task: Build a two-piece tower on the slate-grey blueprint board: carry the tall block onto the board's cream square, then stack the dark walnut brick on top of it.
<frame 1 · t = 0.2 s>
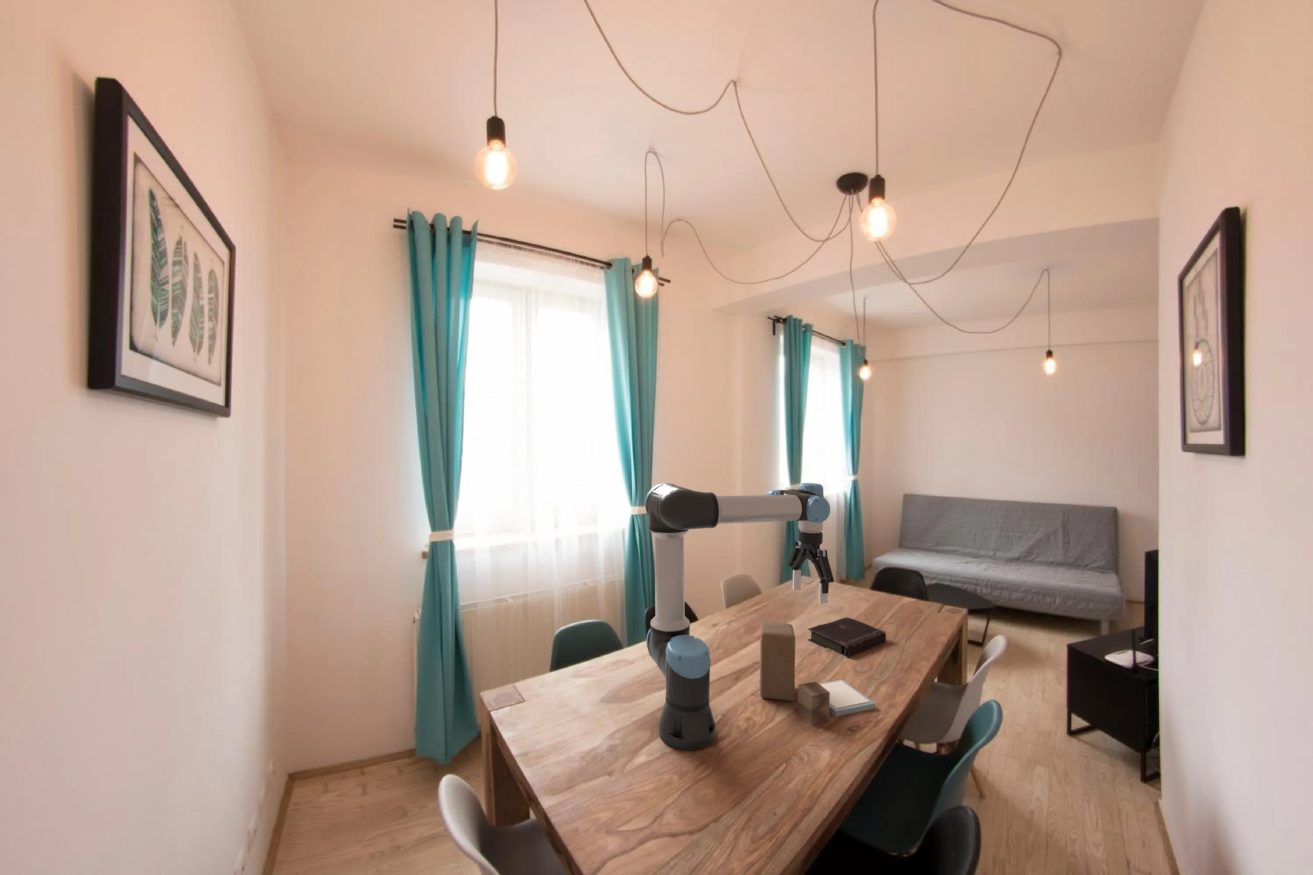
hand: (809, 595, 151), 28 cm above the table, fingers open, 13 cm apart
board: (838, 699, 140), on the table
block: (776, 692, 143), on the table
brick: (813, 716, 131), on the table
diary: (846, 642, 181), on the table
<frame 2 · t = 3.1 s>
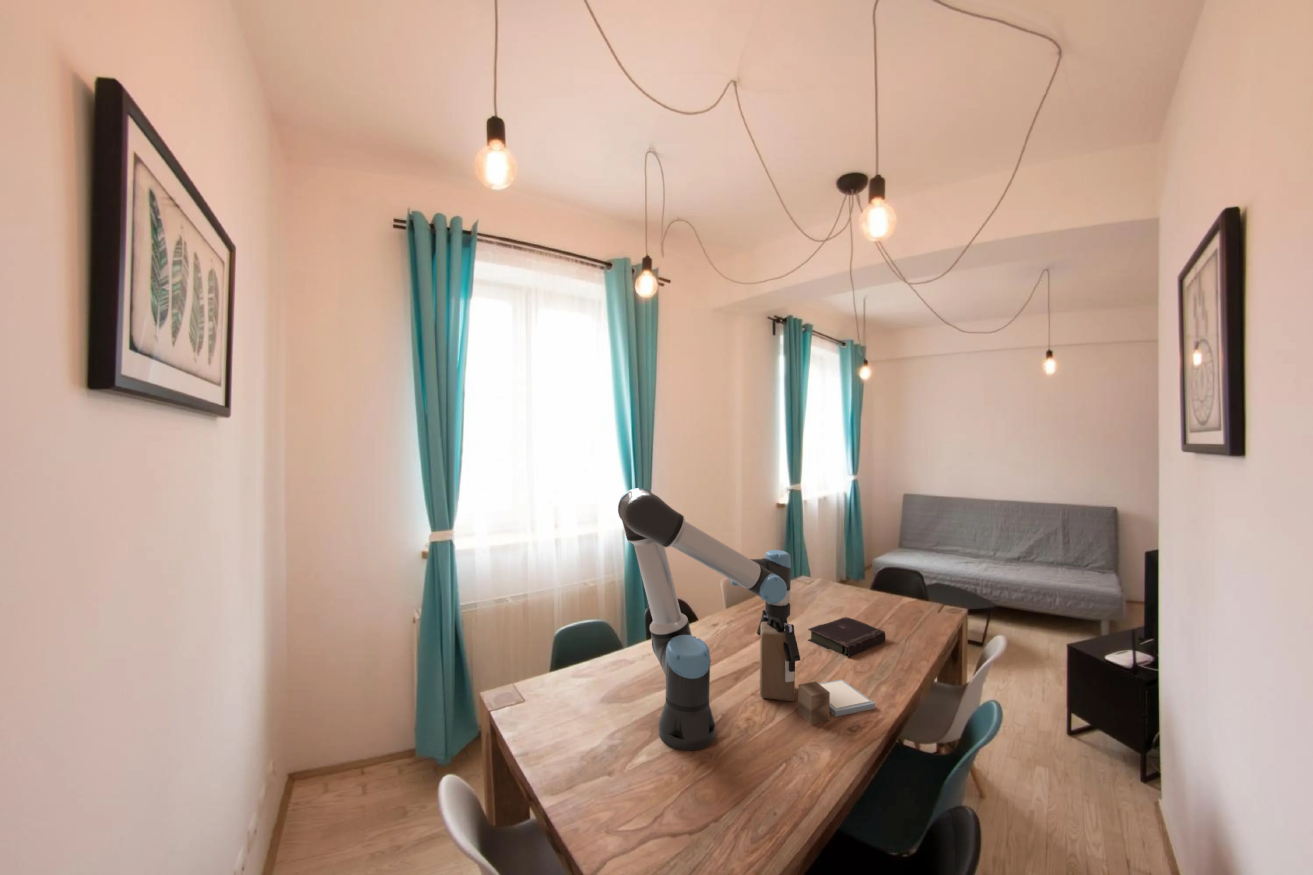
hand: (777, 670, 143), 7 cm above the table, fingers closed on block, 13 cm apart
block: (776, 692, 143), on the table, touching gripper
everything else where it was.
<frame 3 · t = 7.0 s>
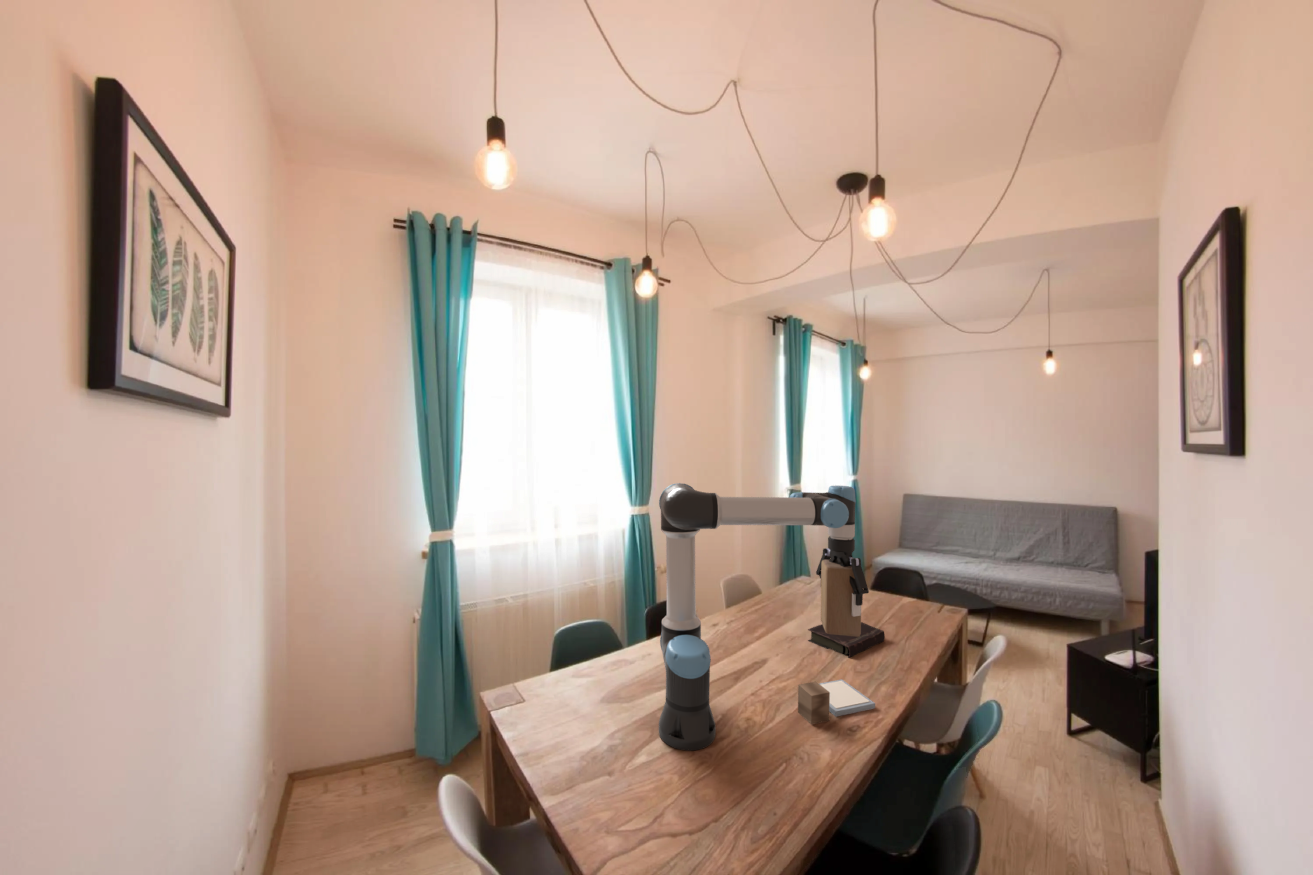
hand: (840, 607, 140), 28 cm above the table, fingers closed on block, 13 cm apart
block: (839, 630, 140), point 21 cm above the table, touching gripper
everything else where it was.
when the fingers open (10 cm above the table, at t = 10.9 s): block drops 1 cm, resting on board.
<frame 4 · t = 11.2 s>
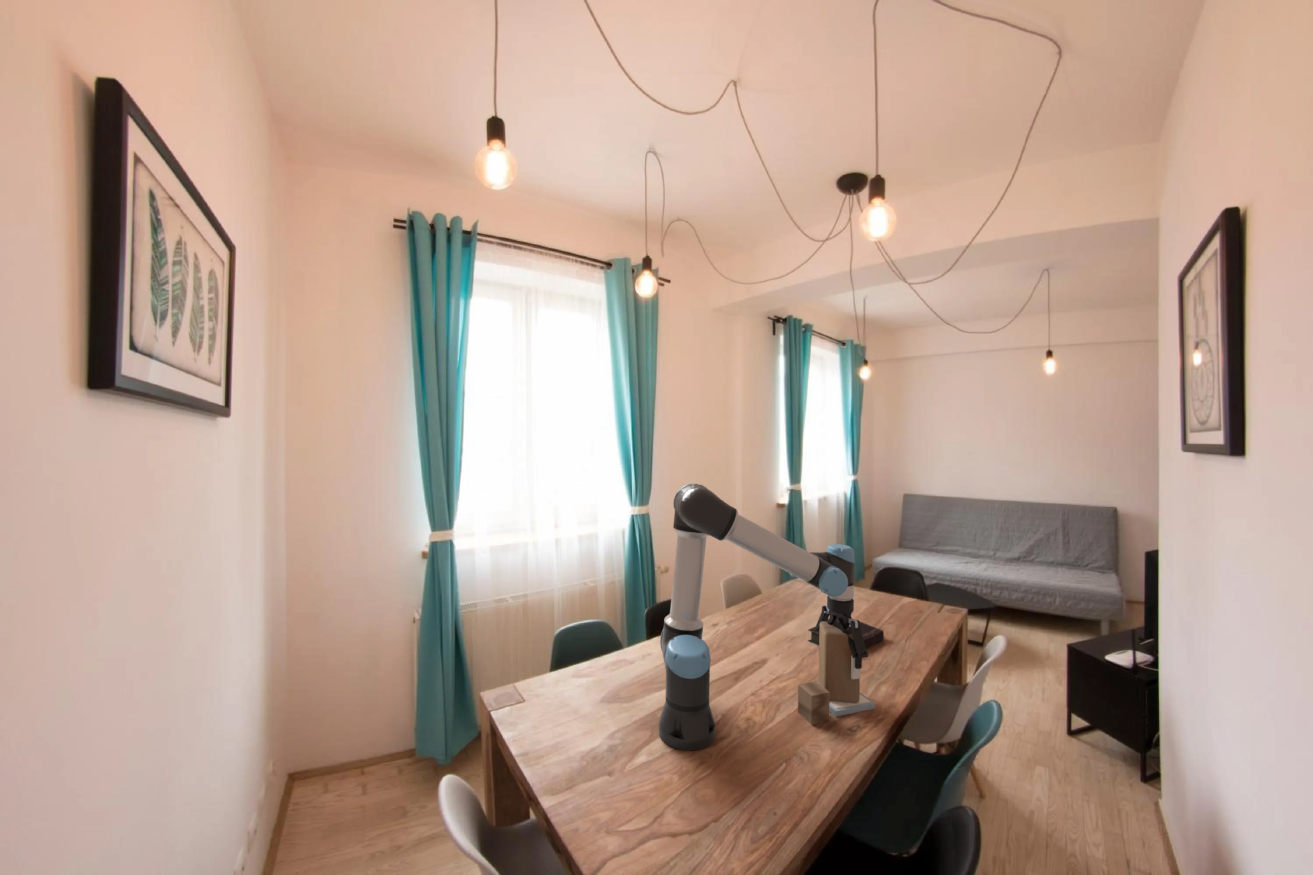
hand: (839, 667, 140), 10 cm above the table, fingers open, 13 cm apart
block: (838, 694, 140), point 2 cm above the table, touching board
everything else where it was.
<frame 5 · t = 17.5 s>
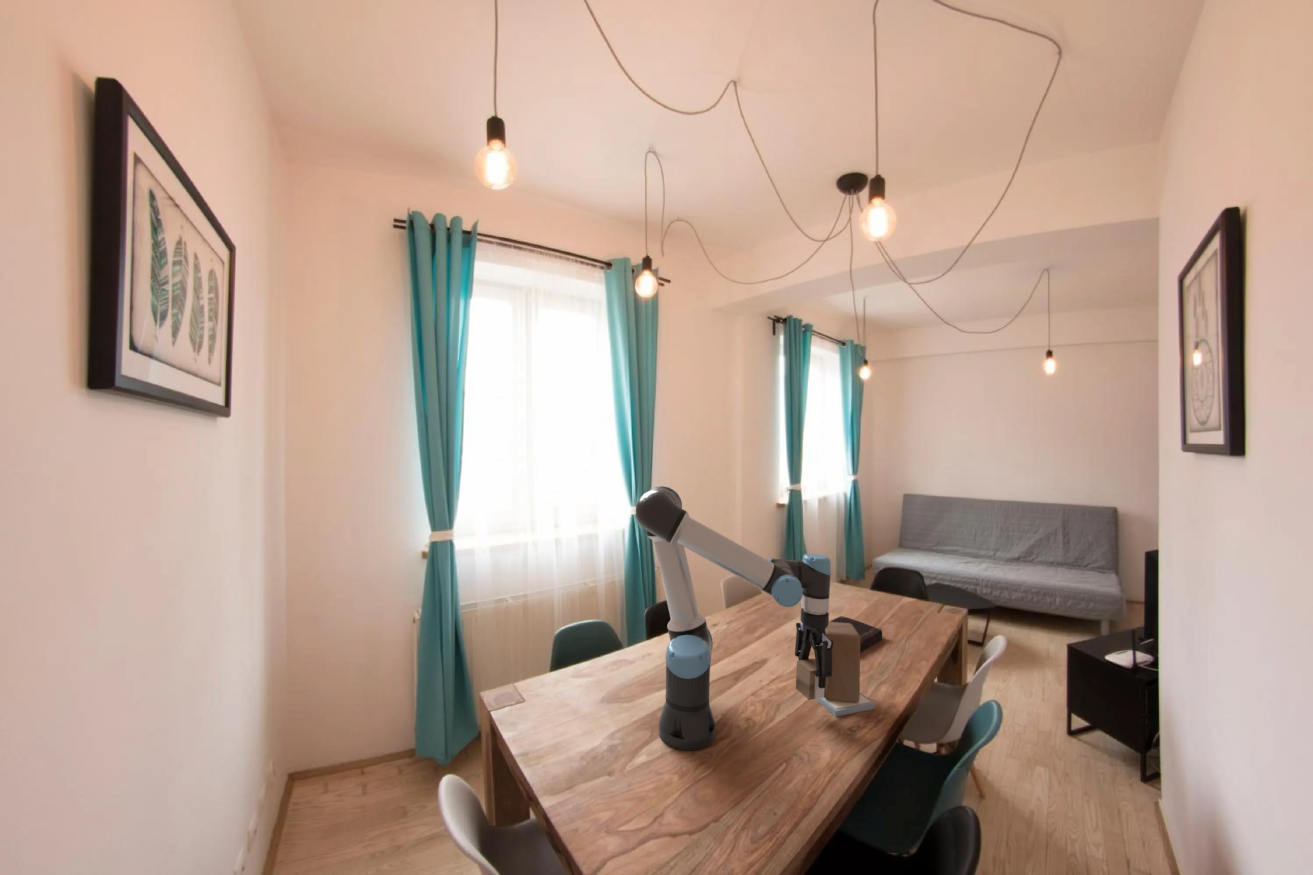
hand: (811, 690, 131), 7 cm above the table, fingers closed on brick, 6 cm apart
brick: (811, 692, 131), point 7 cm above the table, touching gripper
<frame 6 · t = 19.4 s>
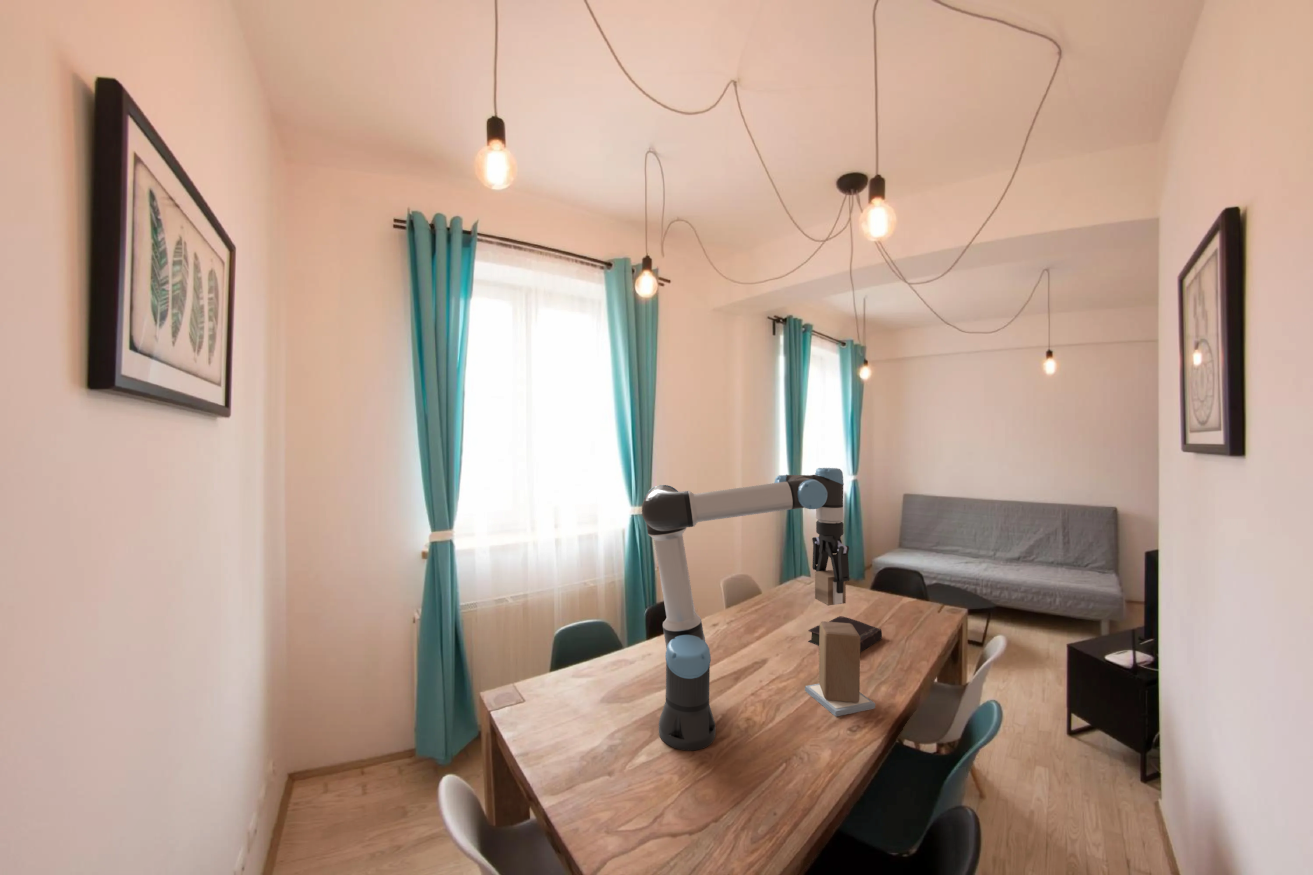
hand: (830, 599, 135), 32 cm above the table, fingers closed on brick, 6 cm apart
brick: (830, 600, 135), point 31 cm above the table, touching gripper
everything else where it was.
when the fingers open (22 cm above the table, at t = 21.8 s): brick stays where it is, resting on block.
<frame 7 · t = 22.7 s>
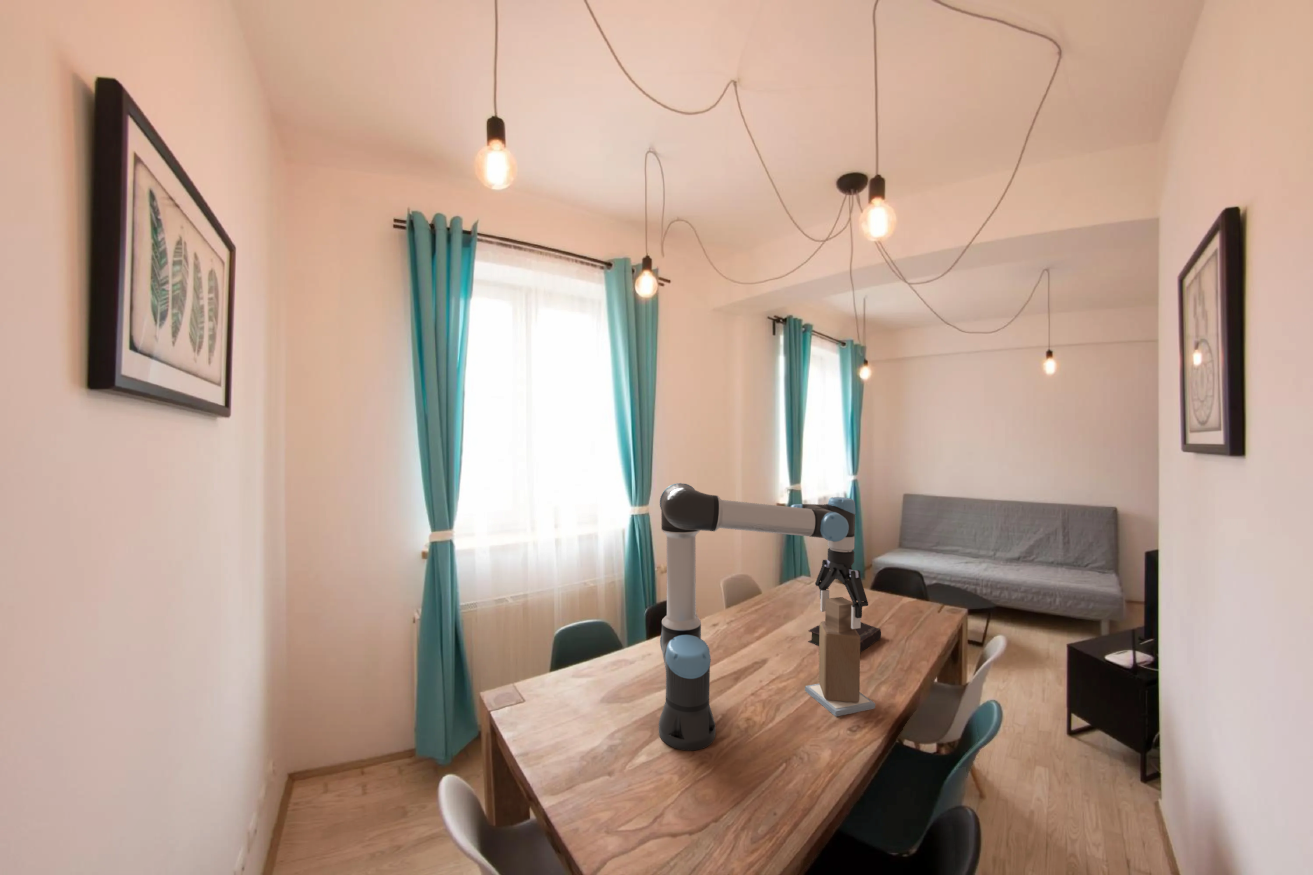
hand: (839, 619, 140), 24 cm above the table, fingers open, 13 cm apart
block: (838, 694, 140), point 1 cm above the table, touching board, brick
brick: (840, 627, 140), point 22 cm above the table, touching block
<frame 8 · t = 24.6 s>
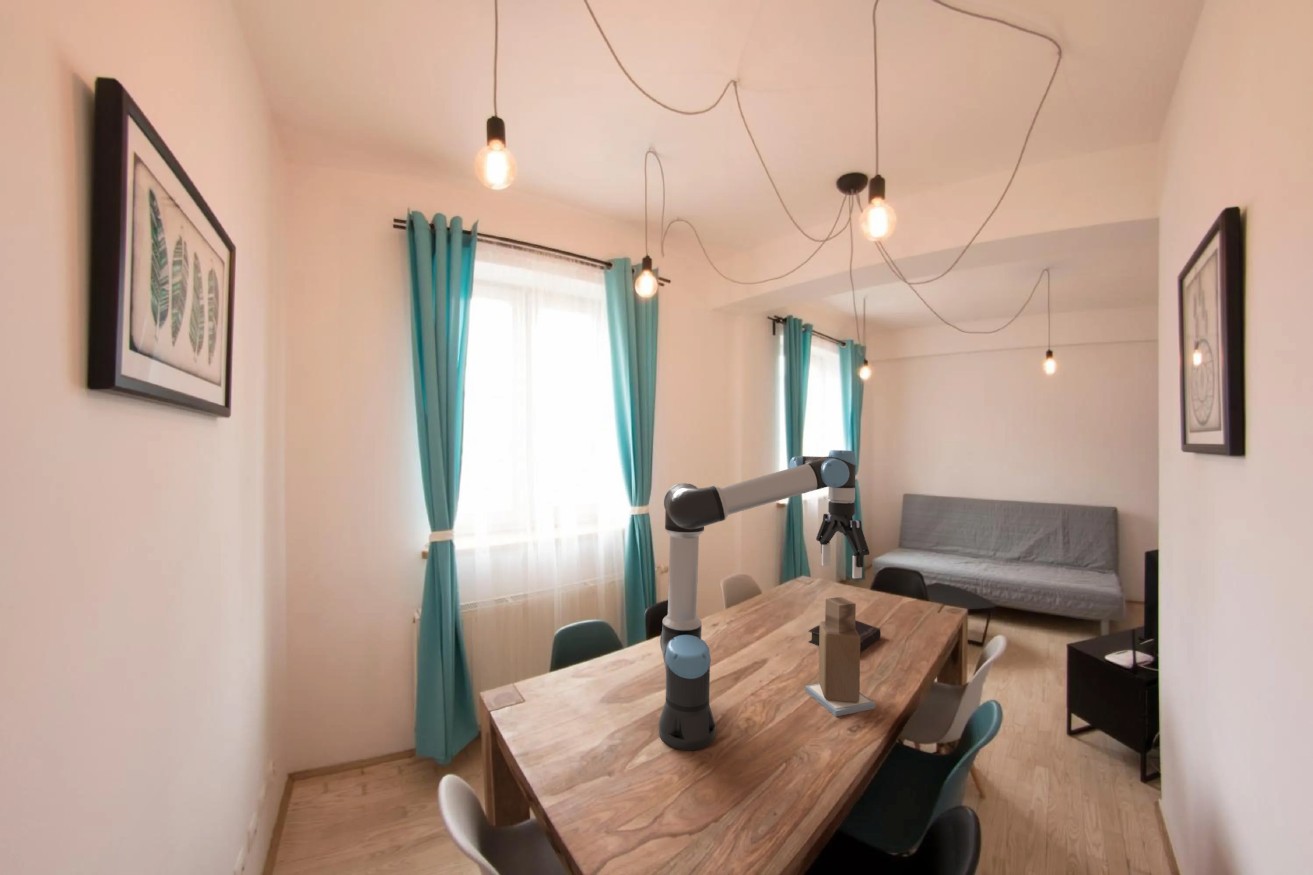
hand: (840, 571, 140), 39 cm above the table, fingers open, 13 cm apart
nothing on the table moved.
at the end: block 0.2 cm from the board (horizontally); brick 0.2 cm from the block (horizontally); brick point 21.7 cm above the table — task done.
